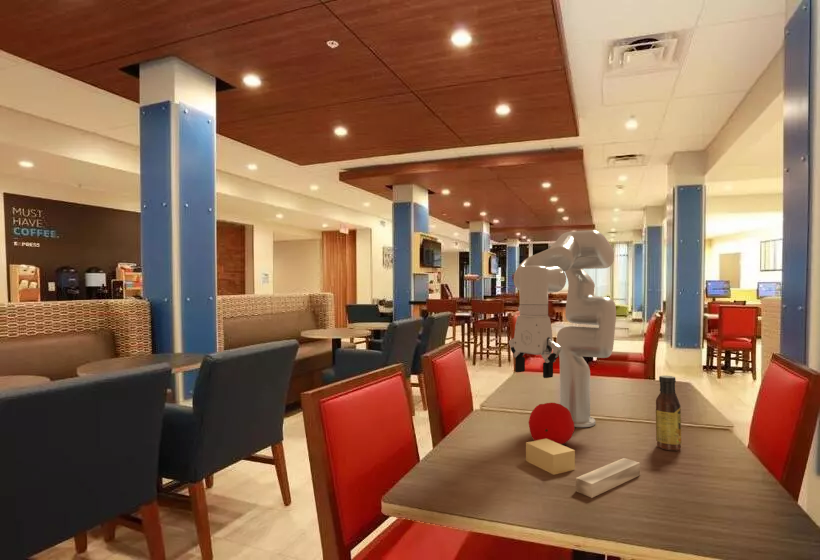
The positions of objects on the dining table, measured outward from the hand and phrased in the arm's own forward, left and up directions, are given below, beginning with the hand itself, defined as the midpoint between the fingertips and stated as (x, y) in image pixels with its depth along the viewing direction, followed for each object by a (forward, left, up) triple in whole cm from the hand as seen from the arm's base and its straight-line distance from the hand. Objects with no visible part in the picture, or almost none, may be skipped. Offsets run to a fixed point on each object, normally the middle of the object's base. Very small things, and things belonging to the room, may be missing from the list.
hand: (533, 374), depth 128 cm
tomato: (-3, +11, -22) cm, 25 cm away
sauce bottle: (+19, +34, -22) cm, 45 cm away
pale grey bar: (+22, -1, -22) cm, 31 cm away
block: (+7, -3, -22) cm, 23 cm away
